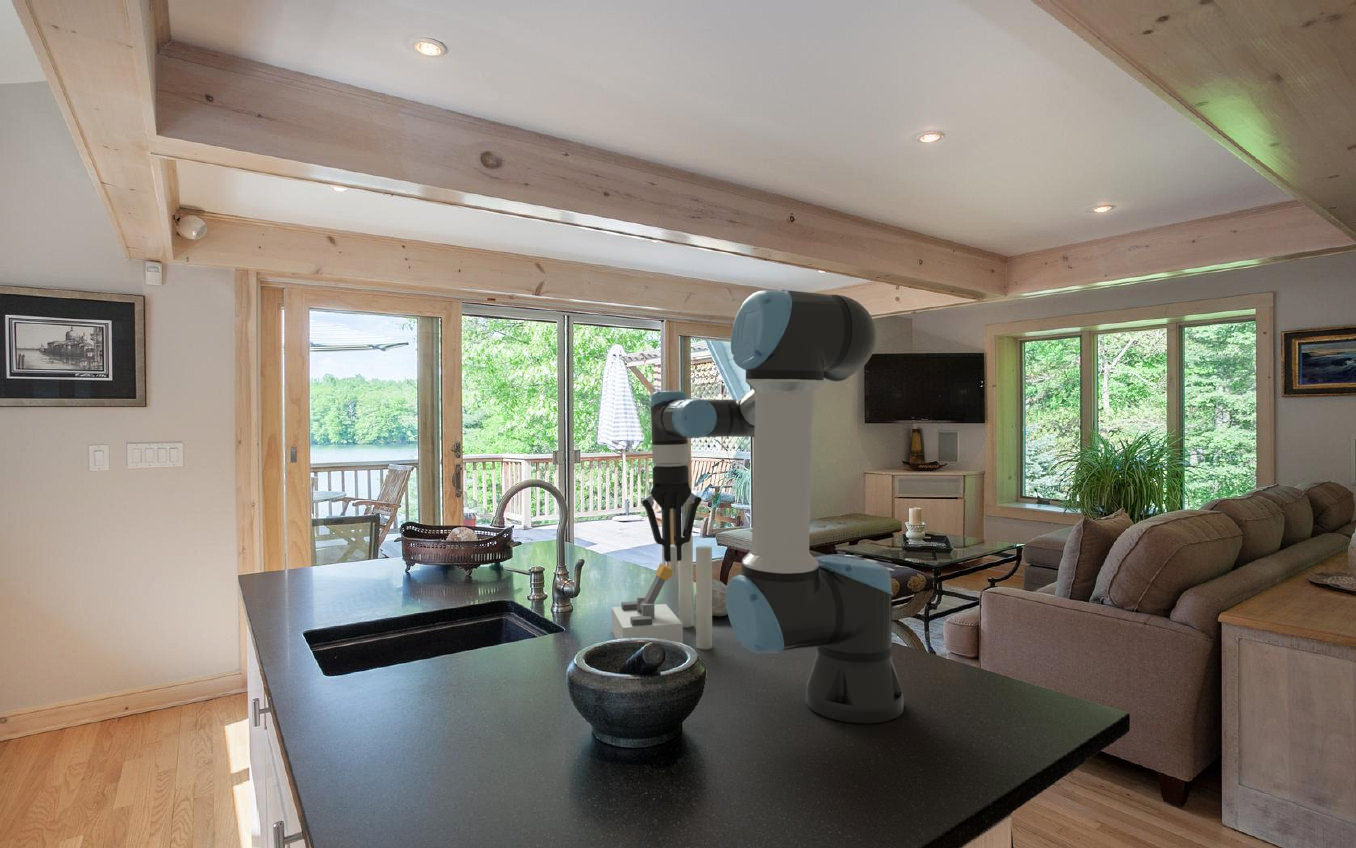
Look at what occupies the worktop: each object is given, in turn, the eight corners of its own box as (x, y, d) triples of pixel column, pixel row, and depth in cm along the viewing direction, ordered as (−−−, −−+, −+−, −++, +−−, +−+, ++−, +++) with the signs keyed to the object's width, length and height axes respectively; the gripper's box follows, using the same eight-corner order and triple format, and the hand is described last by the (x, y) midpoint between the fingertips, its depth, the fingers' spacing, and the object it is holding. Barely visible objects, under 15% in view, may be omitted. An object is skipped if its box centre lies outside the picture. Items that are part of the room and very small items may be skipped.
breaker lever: (649, 616, 148) (672, 570, 149) (640, 612, 148) (664, 566, 149) (645, 611, 152) (668, 567, 153) (637, 608, 152) (660, 562, 153)
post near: (714, 648, 144) (713, 548, 144) (698, 650, 143) (698, 549, 143) (709, 644, 147) (709, 545, 147) (694, 645, 146) (694, 546, 146)
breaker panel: (682, 648, 144) (682, 608, 144) (623, 653, 141) (622, 612, 141) (665, 626, 159) (665, 590, 159) (611, 630, 157) (611, 593, 157)
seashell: (728, 606, 159) (738, 557, 171) (680, 612, 164) (694, 564, 176) (743, 633, 164) (752, 584, 175) (697, 638, 168) (709, 590, 180)
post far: (694, 627, 159) (694, 536, 159) (680, 628, 158) (680, 537, 158) (691, 623, 162) (690, 534, 162) (677, 624, 161) (676, 534, 161)
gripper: (695, 462, 156) (698, 570, 157) (637, 464, 154) (640, 575, 154) (704, 464, 149) (707, 578, 149) (643, 466, 146) (646, 582, 147)
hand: (673, 576), depth 152 cm, fingers closed
